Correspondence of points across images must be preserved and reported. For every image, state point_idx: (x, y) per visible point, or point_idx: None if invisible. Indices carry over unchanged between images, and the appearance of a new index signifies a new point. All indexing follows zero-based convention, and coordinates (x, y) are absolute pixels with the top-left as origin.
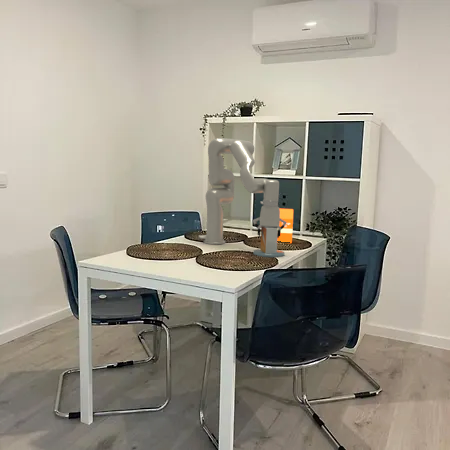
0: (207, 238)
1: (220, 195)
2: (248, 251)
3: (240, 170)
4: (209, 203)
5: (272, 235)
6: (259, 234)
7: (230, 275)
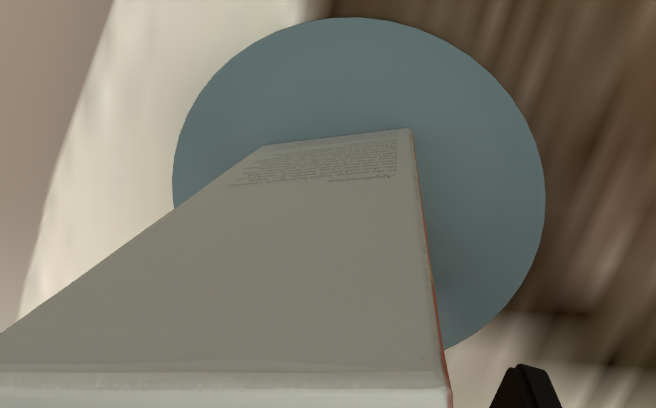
0: None
1: None
2: (537, 355)
3: None
4: None
5: (244, 232)
6: (548, 404)
7: None
